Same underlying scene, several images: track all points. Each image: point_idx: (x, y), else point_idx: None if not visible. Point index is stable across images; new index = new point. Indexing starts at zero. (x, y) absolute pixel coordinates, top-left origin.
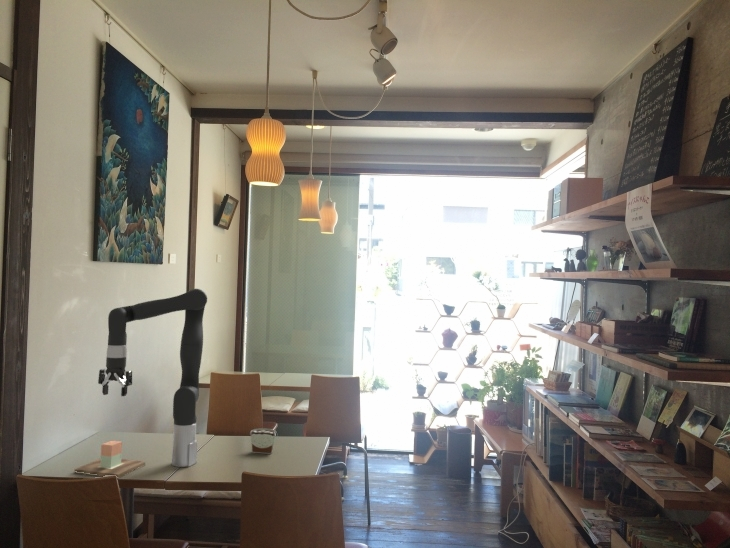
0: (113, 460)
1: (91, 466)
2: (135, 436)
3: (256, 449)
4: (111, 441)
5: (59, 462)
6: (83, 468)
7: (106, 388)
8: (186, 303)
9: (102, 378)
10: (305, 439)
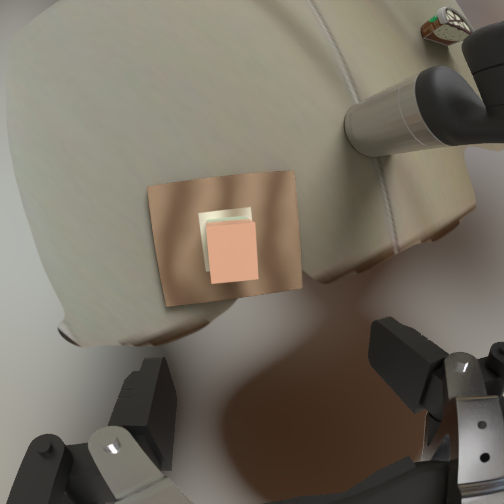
0: None
1: (186, 271)
2: (89, 7)
3: (432, 37)
4: (215, 238)
5: (67, 254)
6: (181, 292)
7: (164, 425)
8: None
9: (33, 493)
10: None
